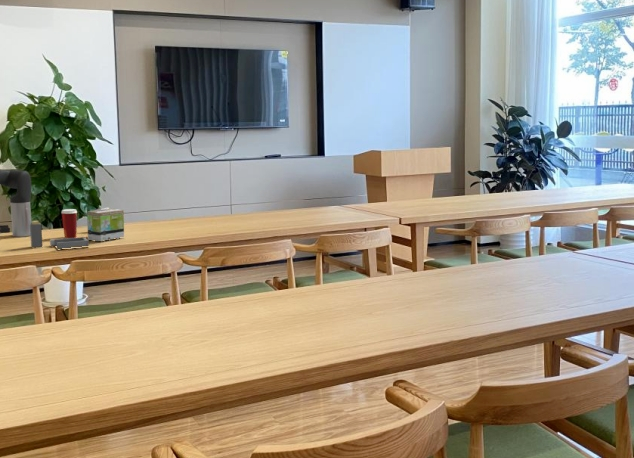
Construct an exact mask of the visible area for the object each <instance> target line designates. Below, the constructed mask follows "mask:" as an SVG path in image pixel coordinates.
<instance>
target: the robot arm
mask: <svg viewBox="0 0 634 458" xmlns="http://www.w3.org/2000/svg"><path fill="white" fill-rule="evenodd" d="M0 185H2V186H4V187H8V188H10V189H16V194H14V195H12V196H10V197H9V201H10V203H9V204H10V214H11V215H10V217H11V218H10V219H11V228H10V227H9V224H8V225H7V224H2V225H0V234H7V233H8V234H9V233H10V232H12V233H11V234H12V237H19V238H20V237H21V238H23V237H31V235H30V223H32V211H31V198H32V197H31V196H32V177H31V175H30V173H29V172H28V171H27V170H19V169H18V170H15V169H13V170H12V169H11V170H9V169H8V170H7V169H0Z"/></svg>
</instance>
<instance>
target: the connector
mask: <svg viewBox="0 0 634 458" xmlns="http://www.w3.org/2000/svg"><path fill="white" fill-rule="evenodd" d="M42 233H43V232H42V223H41V222H39V220H31V223H30V247H31V246H32V247H42V246H43V234H42ZM32 247H31V248H32ZM42 248H43V247H42Z"/></svg>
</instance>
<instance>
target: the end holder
mask: <svg viewBox="0 0 634 458" xmlns="http://www.w3.org/2000/svg"><path fill="white" fill-rule="evenodd" d="M53 239H54V243H55V246H57V249H62V248H71V247H82V246H90V245H89V240H88V238H86V237H85V236H81V237H80V236H79V237H76V238H65V237H64V238H53ZM57 249H56V250H57Z"/></svg>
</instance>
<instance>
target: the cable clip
mask: <svg viewBox="0 0 634 458" xmlns="http://www.w3.org/2000/svg"><path fill="white" fill-rule="evenodd" d="M54 239H55V238H52V239H49V244H50V245H51V246H55V243H54ZM50 245H49V246H50ZM51 246H50V247H51Z"/></svg>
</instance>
